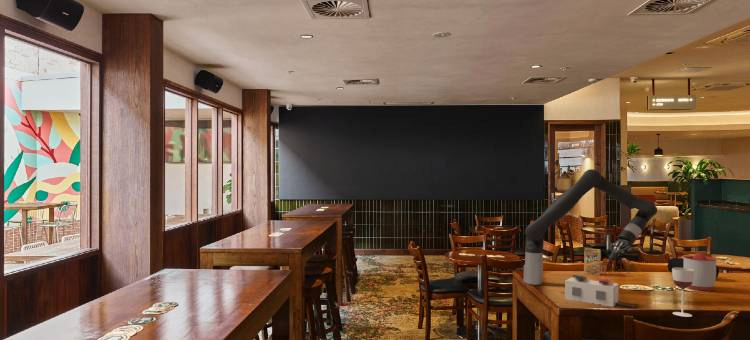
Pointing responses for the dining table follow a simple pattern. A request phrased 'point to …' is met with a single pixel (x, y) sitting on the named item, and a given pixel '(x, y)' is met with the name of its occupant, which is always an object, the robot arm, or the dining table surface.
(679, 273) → the wineglass
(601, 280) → the red rocker
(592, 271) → the candy box
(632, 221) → the robot arm
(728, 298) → the dining table surface
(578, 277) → the black rocker
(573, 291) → the switch box
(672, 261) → the portable speaker
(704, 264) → the citrus juicer
